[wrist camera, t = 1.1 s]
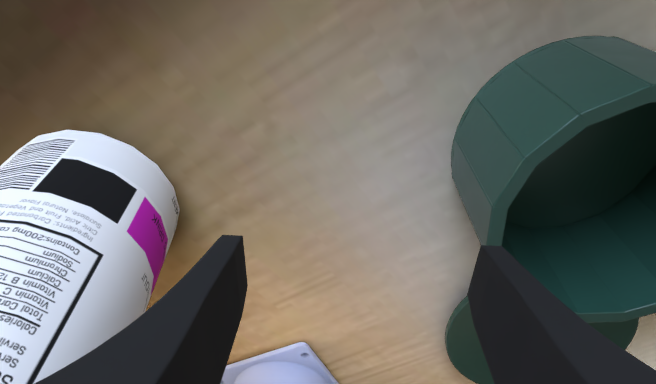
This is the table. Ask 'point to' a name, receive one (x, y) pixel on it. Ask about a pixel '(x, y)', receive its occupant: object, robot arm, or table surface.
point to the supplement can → (76, 247)
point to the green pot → (569, 172)
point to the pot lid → (470, 354)
